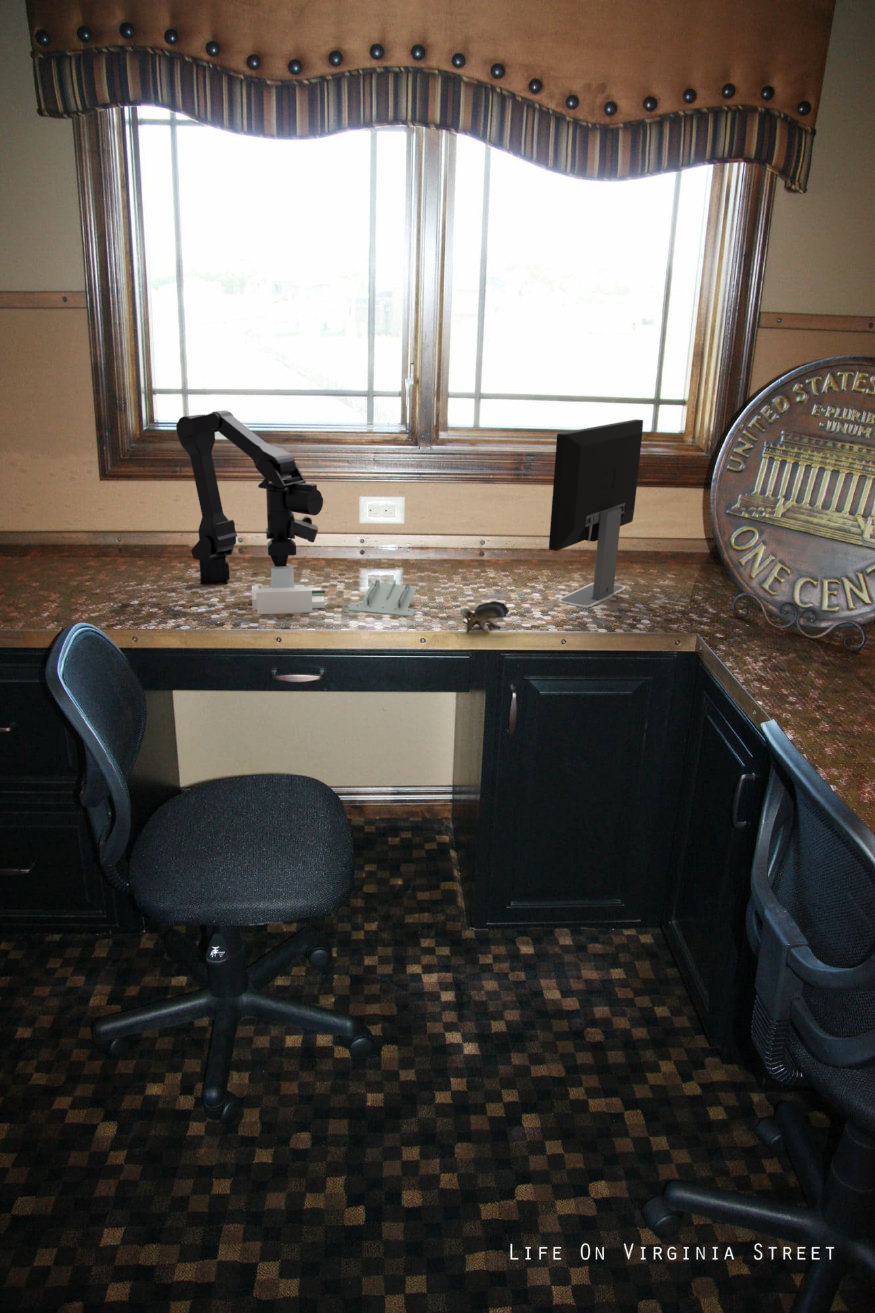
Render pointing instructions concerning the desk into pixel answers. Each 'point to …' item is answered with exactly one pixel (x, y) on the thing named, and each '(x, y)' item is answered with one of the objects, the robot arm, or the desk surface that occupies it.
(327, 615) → the desk surface
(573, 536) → the computer monitor
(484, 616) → the animal figurine
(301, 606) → the gauge housing
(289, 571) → the gauge plunger
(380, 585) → the metal bracket
